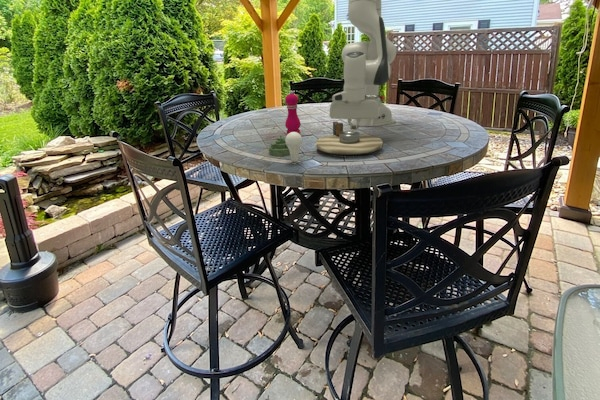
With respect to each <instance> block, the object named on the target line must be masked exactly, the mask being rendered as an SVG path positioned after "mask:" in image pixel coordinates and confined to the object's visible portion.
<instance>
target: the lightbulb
mask: <svg viewBox="0 0 600 400" xmlns="http://www.w3.org/2000/svg"><path fill="white" fill-rule="evenodd" d="M284 139H285V142H286V145H287V147H288V148H289V151H290V155H289V156H290V159H291V161H292V162H293V163H296V162H297V161H299V154H300V150H301V146H302V144H303V136H302V135H301V133H300V134H299V133H297V132H291V133H289V134H288V135H287V134H286V136H285V138H284Z"/></svg>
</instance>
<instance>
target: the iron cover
mask: <svg viewBox="0 0 600 400" xmlns="http://www.w3.org/2000/svg"><path fill="white" fill-rule="evenodd" d="M360 134H361V133H360V132H358V131H355V130H346V131H343V132H341V133H340V134H339V142H340V143H344V144H355V143H358V142H360Z"/></svg>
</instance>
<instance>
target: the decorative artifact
mask: <svg viewBox="0 0 600 400" xmlns="http://www.w3.org/2000/svg"><path fill="white" fill-rule="evenodd" d="M268 153H269V155H270V156H272V157H287V156H291V155H290V151H289V148H288V147H287V145H286V142H285V138H284V137H283V136H282V135H280V137H277V139H276V140H275V141H274V142H271V143H270V146H269V147H268Z"/></svg>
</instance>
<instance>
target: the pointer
mask: <svg viewBox="0 0 600 400" xmlns="http://www.w3.org/2000/svg"><path fill="white" fill-rule="evenodd" d="M336 123H339V121H333V122H332V135H336Z"/></svg>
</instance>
